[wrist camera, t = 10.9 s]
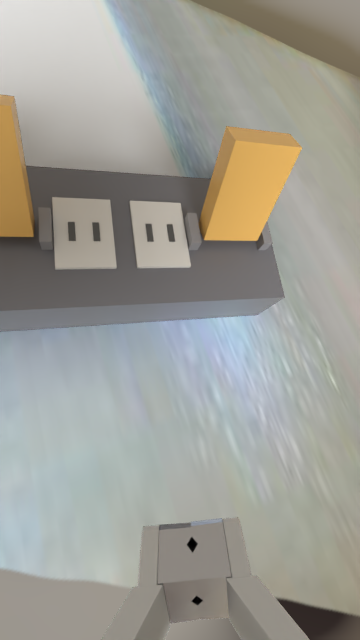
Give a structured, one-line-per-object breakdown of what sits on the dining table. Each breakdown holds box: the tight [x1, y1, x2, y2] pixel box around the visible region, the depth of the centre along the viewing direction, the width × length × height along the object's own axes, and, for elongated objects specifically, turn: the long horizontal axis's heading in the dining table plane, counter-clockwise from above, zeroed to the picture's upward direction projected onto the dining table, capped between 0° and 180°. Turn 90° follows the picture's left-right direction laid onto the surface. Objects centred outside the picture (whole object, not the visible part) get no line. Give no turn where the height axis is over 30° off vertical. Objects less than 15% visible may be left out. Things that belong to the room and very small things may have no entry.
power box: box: [0, 166, 285, 332], centre depth 28 cm, size 27×12×6 cm, turn 98°
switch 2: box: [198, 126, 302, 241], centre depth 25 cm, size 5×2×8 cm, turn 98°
